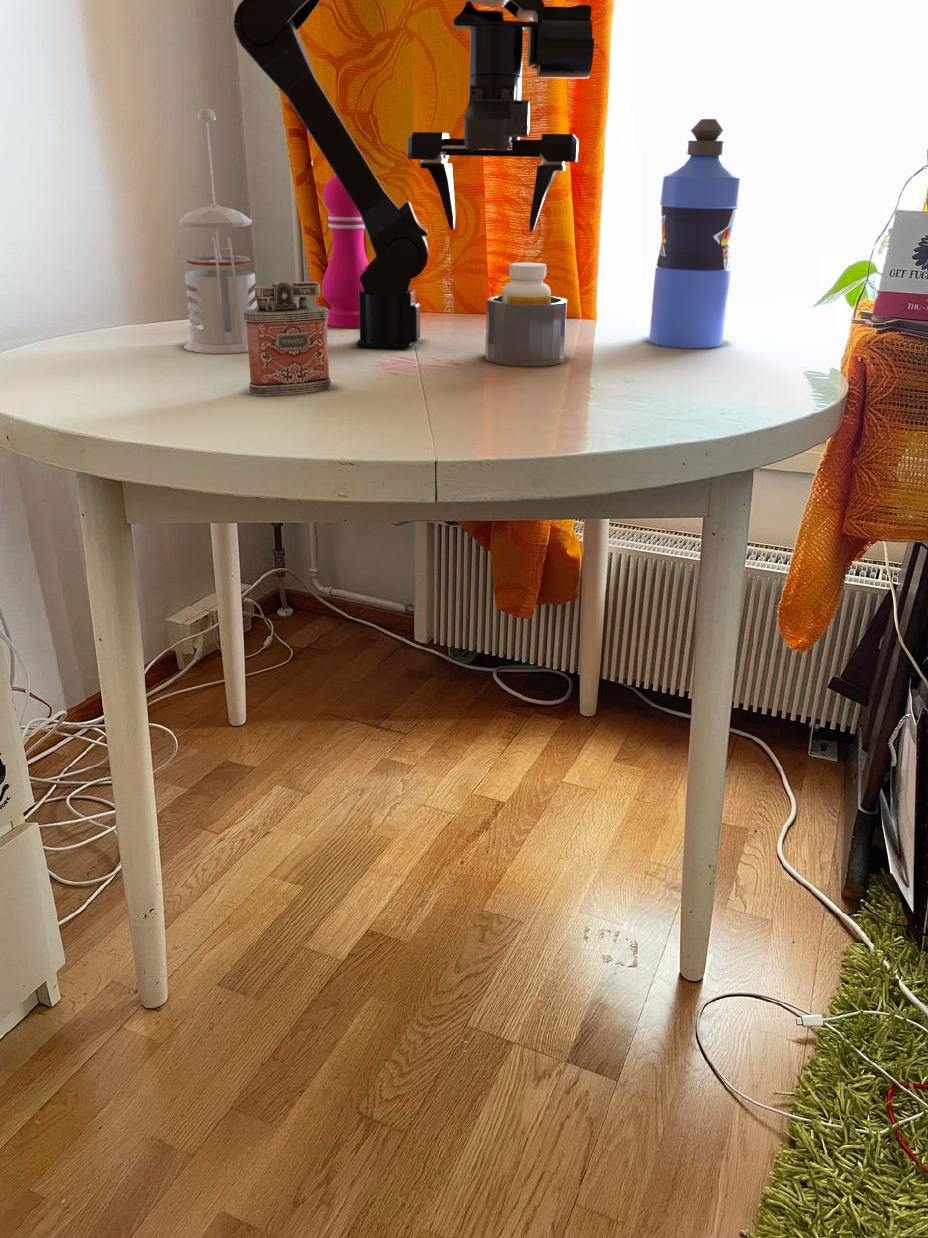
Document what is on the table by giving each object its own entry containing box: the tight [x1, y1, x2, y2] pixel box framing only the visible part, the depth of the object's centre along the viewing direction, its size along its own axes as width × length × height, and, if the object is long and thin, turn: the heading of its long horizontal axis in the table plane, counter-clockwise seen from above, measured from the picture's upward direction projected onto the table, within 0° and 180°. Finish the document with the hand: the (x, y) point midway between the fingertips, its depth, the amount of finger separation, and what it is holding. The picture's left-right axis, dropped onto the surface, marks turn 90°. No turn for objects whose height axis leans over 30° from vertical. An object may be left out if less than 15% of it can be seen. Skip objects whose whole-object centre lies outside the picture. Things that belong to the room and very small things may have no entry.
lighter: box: [243, 280, 332, 396], centre depth 93 cm, size 8×3×10 cm, turn 117°
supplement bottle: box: [501, 262, 552, 304], centre depth 110 cm, size 5×5×10 cm
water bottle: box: [648, 118, 744, 349], centre depth 119 cm, size 9×9×25 cm
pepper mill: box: [321, 175, 369, 329], centre depth 129 cm, size 7×7×20 cm
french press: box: [177, 107, 258, 354], centre depth 111 cm, size 10×12×25 cm
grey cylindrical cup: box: [485, 294, 568, 368], centre depth 111 cm, size 9×9×6 cm
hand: (491, 230), depth 114 cm, fingers open, 9 cm apart
